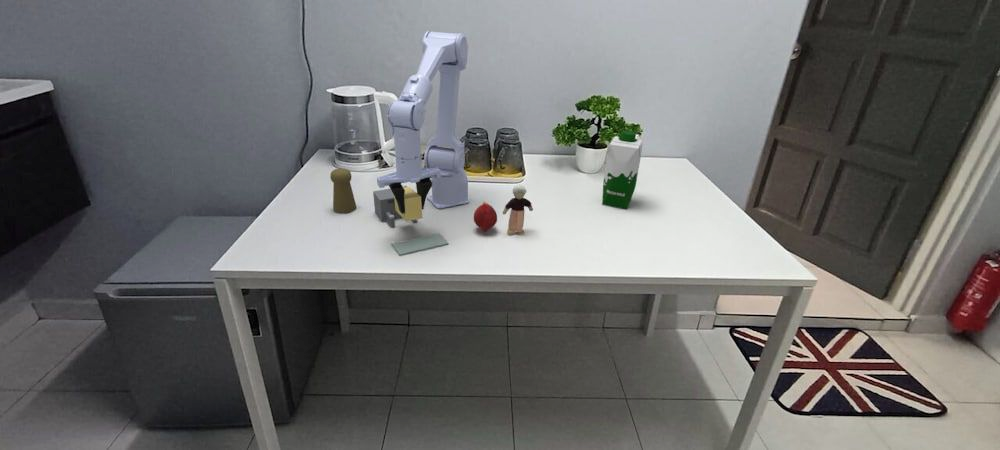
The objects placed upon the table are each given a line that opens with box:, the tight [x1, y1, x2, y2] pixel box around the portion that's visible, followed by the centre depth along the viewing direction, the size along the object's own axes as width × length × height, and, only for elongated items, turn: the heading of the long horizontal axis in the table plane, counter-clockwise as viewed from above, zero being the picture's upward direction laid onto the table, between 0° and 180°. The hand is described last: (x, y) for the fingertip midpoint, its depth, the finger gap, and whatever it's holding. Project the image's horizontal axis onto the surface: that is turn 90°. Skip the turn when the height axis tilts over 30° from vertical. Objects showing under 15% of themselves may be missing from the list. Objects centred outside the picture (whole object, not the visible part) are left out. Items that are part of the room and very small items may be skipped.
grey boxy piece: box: [372, 185, 418, 228], centre depth 126 cm, size 9×10×6 cm
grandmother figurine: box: [502, 184, 534, 236], centre depth 119 cm, size 8×4×13 cm, turn 117°
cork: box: [329, 167, 358, 215], centre depth 128 cm, size 6×6×11 cm
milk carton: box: [601, 130, 643, 210], centre depth 135 cm, size 9×9×20 cm
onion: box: [473, 200, 498, 232], centre depth 120 cm, size 6×6×8 cm
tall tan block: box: [394, 186, 423, 222], centre depth 117 cm, size 4×8×6 cm, turn 29°
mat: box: [391, 232, 450, 257], centre depth 115 cm, size 12×6×1 cm, turn 119°
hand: (411, 209), depth 116 cm, fingers closed on tall tan block, 4 cm apart
